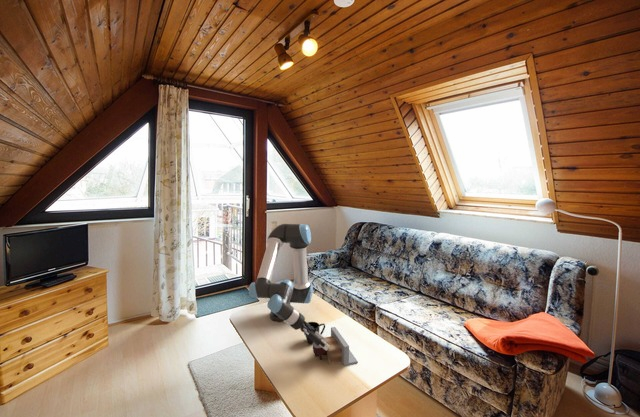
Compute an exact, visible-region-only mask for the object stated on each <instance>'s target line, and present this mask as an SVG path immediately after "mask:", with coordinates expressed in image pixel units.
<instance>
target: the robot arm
mask: <svg viewBox="0 0 640 417" xmlns="http://www.w3.org/2000/svg"><path fill="white" fill-rule="evenodd" d="M266 239H267V240H266V244H267V245H266V249H265V252H264V255H263V258H262V261H261V265H260V266H259V267H260V268H259V270H258V271H259V272H258V274H257V278H256V281H253V282H251V283H250V285H249V286H248V295H249V297H251V298H257V299H269V300H268V301H267V308H268V309H269V310H270V312H269V318H270V320H272V321H273V322H279V323H281V322H283V323H284V324H285V323H286V324H287V325H288V326H290V328H292V329H293V330H295V331H297V330H299V329H300V331H301V332H302V333H303V334H304V336H305V337H306V336H307V337H309V338H310V339H311V340H312V341H313V342H314V343H316V345H318V346H319V345H320V346H321V347H322V348H323V349H325V350H326V351H327V350H328V349H329V347H330V346H329V345H328V344H327V343H326V342H324V341H323V340H324V339H325V336H323V334H322V335H321V334H320V332H319V333H318V332H317V331H316V330H317V329H316V328H315V329H314V327H312V326H311V325H310V324H308V321H306V320H305V319H306V318H305V316H304V314H302V313H301V312H299V311H298V310H297V309H296V308H295V307H293V306H292V305H291V303H293V304H294V303H295V304H310V303H311V301H312V297H313V289H314V285H312V284H311V281H310V280H309V278H308V276H309V275H308V258H307V257H308V256H307V248H308V247H309V245H310V244H311V242H312V233H311V229H310V226H309V225H308V224H303V223H281V224H279V225H277V226H276V227H274V228H273V230H271V232H270V233H269V235H268V237H267V238H266ZM284 244H289V248H290V249H292V263H293V264H292V265H293V267H292V268H293V277H294V278H293V281H292V280H290V279H286V278H285V279H282V280H279V281H276V282H275V283H274V282H273V283H272V278H273V275H274V271H275V268H276V264H277V259H278V258H279V253H280V249H281V248H282V247H283V245H284ZM322 339H323V340H322Z"/></svg>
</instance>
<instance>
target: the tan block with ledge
mask: <svg viewBox="0 0 640 417" xmlns="http://www.w3.org/2000/svg"><path fill="white" fill-rule="evenodd" d="M324 338H325V339H324V341H325V342H326V343H327V344H328V345H329V346H330V347H329V349H328V350H327V351H326V354H327V355H326V356H325V357H326V359H327V360H328V362H329V364H330V365H333V364H338V363H342V348H341V347H340V345H339V344H338V342H337V341H336V339H335V338H334V337H333V336H331V335H330V336H327V337H325V336H324Z"/></svg>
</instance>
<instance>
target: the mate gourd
mask: <svg viewBox="0 0 640 417" xmlns="http://www.w3.org/2000/svg"><path fill="white" fill-rule="evenodd" d="M322 340H323V339H322ZM323 341H324V340H323ZM324 342H325V341H324ZM312 351H313V354H314V358H318V357H319V360H321V361H322V360H323V359H322V357H324V356H325V357H326V355H327V354H326V350H325V349H323V348H322V347H321V346H320V345H319V346H318V345H316V343H314V342H313V344H312Z"/></svg>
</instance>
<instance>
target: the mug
mask: <svg viewBox="0 0 640 417" xmlns="http://www.w3.org/2000/svg"><path fill="white" fill-rule="evenodd" d="M307 323H308V324H310V325H311V326H312V327H314V329H315V328H316V329H317V330H316V331H317V332H318V333H319V334H321V335H322V336H323V333H324V331H325V328H326V324H325V323H318V322H316V321H307ZM321 326H323V327H322V329H321V332H320V327H321ZM305 338H306V342H307V344H309V345H310V344H311V345H313V341H312V340H311V339H310V338H309V337H307V336H306V335H305Z"/></svg>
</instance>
